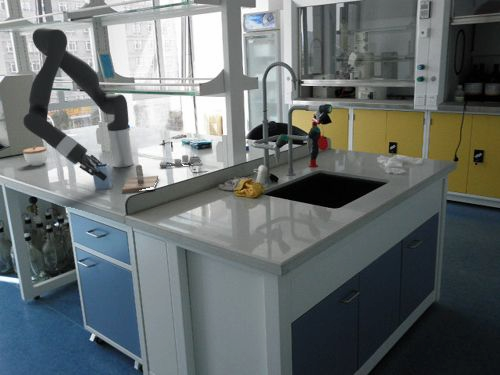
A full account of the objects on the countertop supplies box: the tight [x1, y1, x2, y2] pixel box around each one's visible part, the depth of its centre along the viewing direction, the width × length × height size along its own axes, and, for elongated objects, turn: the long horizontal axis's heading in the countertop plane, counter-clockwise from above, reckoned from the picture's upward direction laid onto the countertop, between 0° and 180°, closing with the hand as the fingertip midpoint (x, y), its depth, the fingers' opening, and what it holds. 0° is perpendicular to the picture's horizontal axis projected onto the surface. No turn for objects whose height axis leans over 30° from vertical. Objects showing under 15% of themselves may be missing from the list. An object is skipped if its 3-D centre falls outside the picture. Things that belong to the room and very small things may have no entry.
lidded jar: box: [22, 145, 48, 167], centre depth 231 cm, size 11×11×9 cm
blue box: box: [92, 163, 113, 191], centre depth 183 cm, size 6×6×9 cm
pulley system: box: [159, 154, 202, 168], centre depth 208 cm, size 27×5×15 cm
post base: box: [121, 164, 159, 194], centre depth 182 cm, size 16×12×9 cm
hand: (107, 176), depth 183 cm, fingers closed on blue box, 5 cm apart
